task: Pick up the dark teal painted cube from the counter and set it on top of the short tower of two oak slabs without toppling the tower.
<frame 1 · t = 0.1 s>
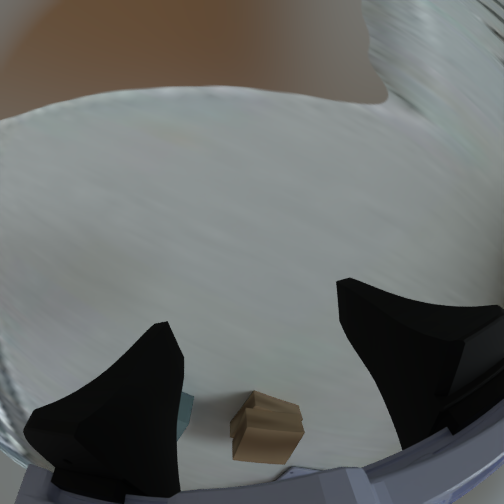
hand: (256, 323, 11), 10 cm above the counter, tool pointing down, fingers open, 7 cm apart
bottom slab: (263, 412, 25), on the counter, touching top slab
top slab: (264, 429, 22), point 2 cm above the counter, touching bottom slab
cube: (168, 400, 24), on the counter
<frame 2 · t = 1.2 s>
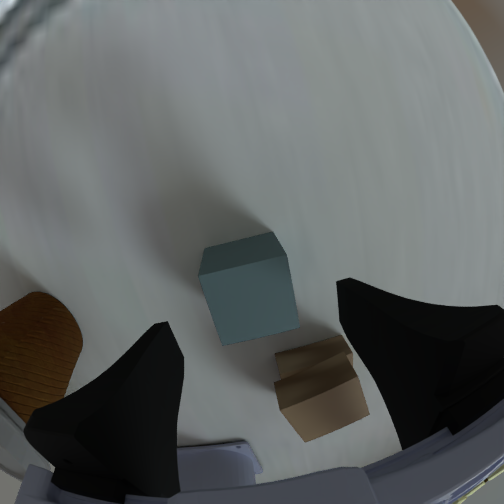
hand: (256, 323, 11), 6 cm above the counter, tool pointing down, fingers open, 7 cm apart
disposable coffee cup: (51, 326, 17), on the counter
bottom slab: (311, 365, 20), on the counter
top slab: (319, 388, 18), point 2 cm above the counter
cube: (246, 271, 17), on the counter
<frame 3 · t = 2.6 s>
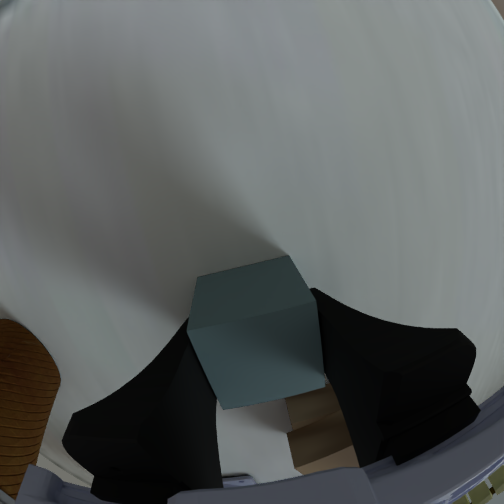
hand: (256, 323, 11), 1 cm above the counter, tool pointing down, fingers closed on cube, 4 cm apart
disposable coffee cup: (25, 356, 13), on the counter
slatted curved stool: (457, 458, 29), on the counter
bottom slab: (325, 404, 16), on the counter, touching top slab
top slab: (339, 432, 14), point 2 cm above the counter, touching bottom slab
cube: (253, 306, 13), on the counter, touching gripper
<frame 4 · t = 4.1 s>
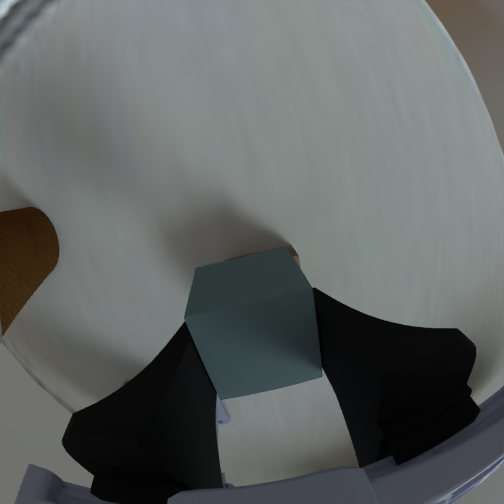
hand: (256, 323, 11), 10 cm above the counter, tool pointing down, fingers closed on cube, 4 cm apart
disposable coffee cup: (34, 241, 19), on the counter
cube: (251, 297, 13), point 8 cm above the counter, touching gripper
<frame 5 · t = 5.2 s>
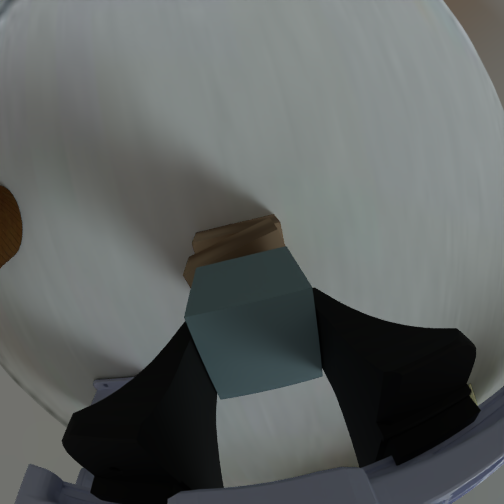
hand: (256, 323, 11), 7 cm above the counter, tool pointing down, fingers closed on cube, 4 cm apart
disposable coffee cup: (0, 222, 16), on the counter
bottom slab: (243, 258, 19), on the counter, touching top slab
top slab: (248, 274, 16), point 2 cm above the counter, touching bottom slab
cube: (251, 296, 13), point 6 cm above the counter, touching gripper
when the fingers open (7 cm above the counter, at t = 5.7 s): cube moves 1 cm, resting on top slab.
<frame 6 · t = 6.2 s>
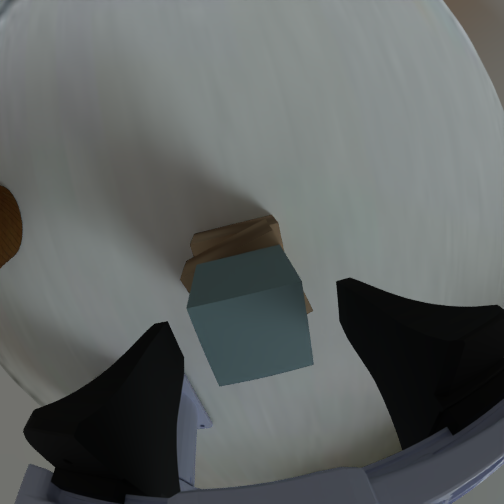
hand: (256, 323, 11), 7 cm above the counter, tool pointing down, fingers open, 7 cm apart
disposable coffee cup: (0, 222, 16), on the counter
bottom slab: (241, 259, 19), on the counter, touching top slab
top slab: (246, 276, 16), point 2 cm above the counter, touching bottom slab, cube
cube: (247, 291, 14), point 5 cm above the counter, touching top slab
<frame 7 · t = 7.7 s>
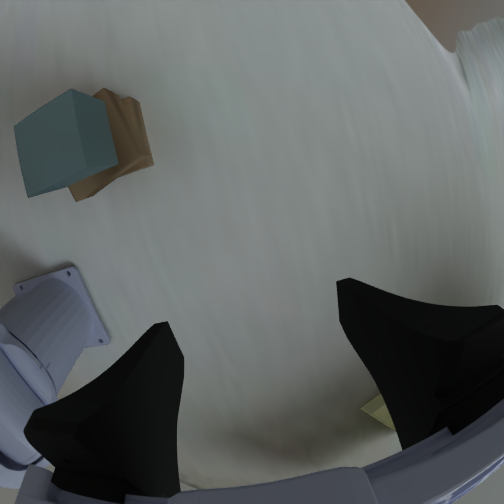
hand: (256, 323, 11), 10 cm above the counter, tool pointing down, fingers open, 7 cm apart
slatted curved stool: (417, 395, 31), on the counter
bottom slab: (117, 144, 18), on the counter, touching top slab
top slab: (103, 145, 16), point 2 cm above the counter, touching bottom slab, cube
cube: (83, 144, 13), point 5 cm above the counter, touching top slab
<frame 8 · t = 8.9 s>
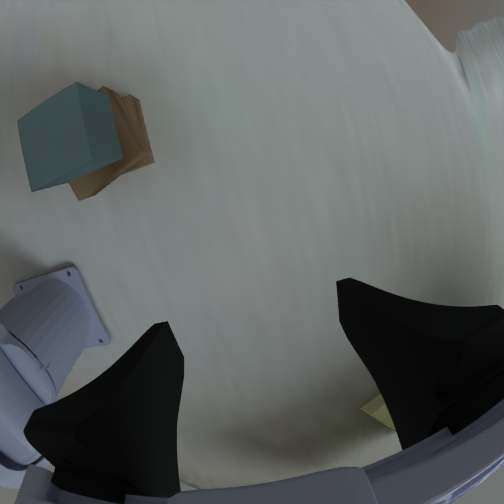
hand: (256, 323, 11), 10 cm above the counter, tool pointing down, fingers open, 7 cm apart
slatted curved stool: (417, 395, 31), on the counter
bottom slab: (117, 142, 18), on the counter, touching top slab
top slab: (105, 143, 16), point 2 cm above the counter, touching bottom slab, cube
cube: (87, 139, 13), point 5 cm above the counter, touching top slab
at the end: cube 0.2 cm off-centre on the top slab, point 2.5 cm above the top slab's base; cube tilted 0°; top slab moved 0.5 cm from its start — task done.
